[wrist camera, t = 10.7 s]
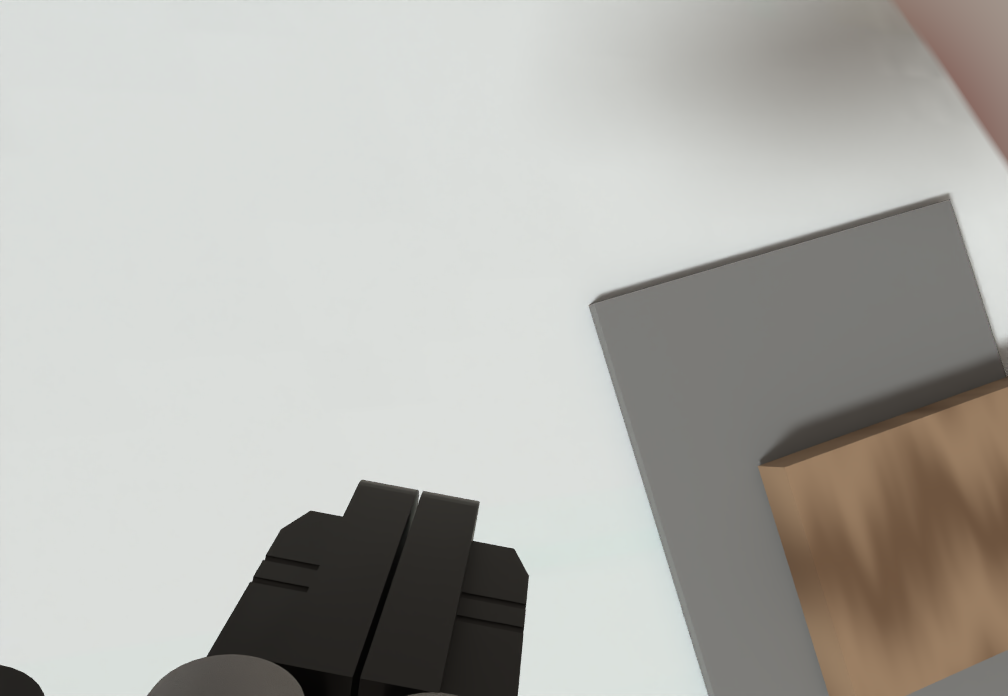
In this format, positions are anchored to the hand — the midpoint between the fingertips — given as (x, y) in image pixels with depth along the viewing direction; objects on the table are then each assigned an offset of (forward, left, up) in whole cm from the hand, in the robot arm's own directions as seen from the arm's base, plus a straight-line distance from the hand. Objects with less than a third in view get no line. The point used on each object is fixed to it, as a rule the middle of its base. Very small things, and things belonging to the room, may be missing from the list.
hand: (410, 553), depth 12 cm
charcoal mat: (+9, +19, -21) cm, 29 cm away
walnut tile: (+9, +15, -19) cm, 26 cm away
